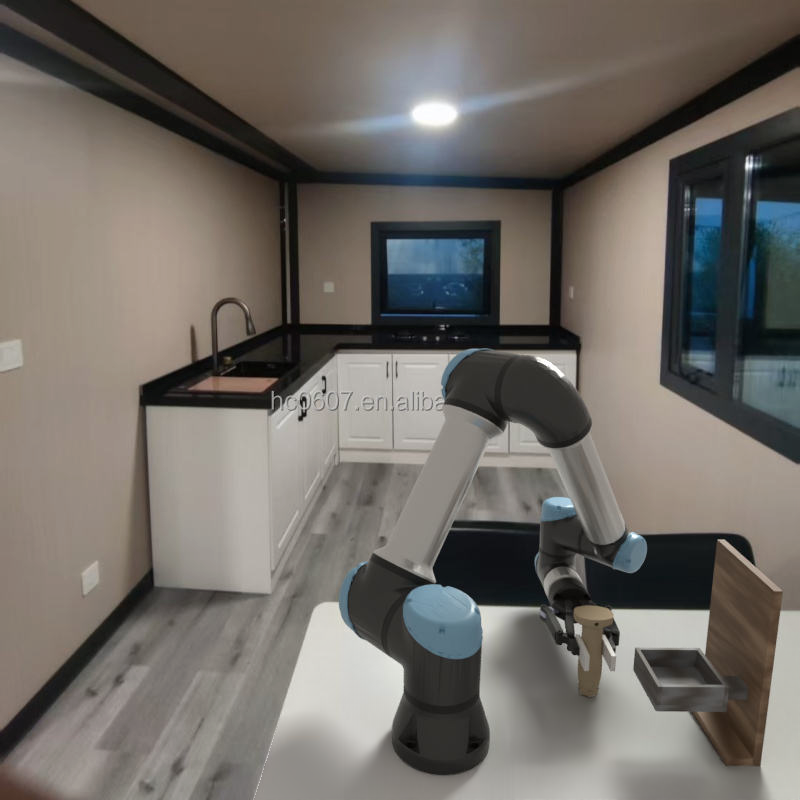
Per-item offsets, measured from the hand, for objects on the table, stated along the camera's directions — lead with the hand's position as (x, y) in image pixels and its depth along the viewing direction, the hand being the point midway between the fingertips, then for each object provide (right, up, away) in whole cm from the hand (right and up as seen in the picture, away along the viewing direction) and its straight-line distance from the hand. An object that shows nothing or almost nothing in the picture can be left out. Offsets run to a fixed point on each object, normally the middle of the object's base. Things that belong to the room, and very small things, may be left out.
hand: (600, 663), depth 112 cm
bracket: (+13, -10, -1) cm, 16 cm away
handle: (0, -8, +7) cm, 11 cm away
